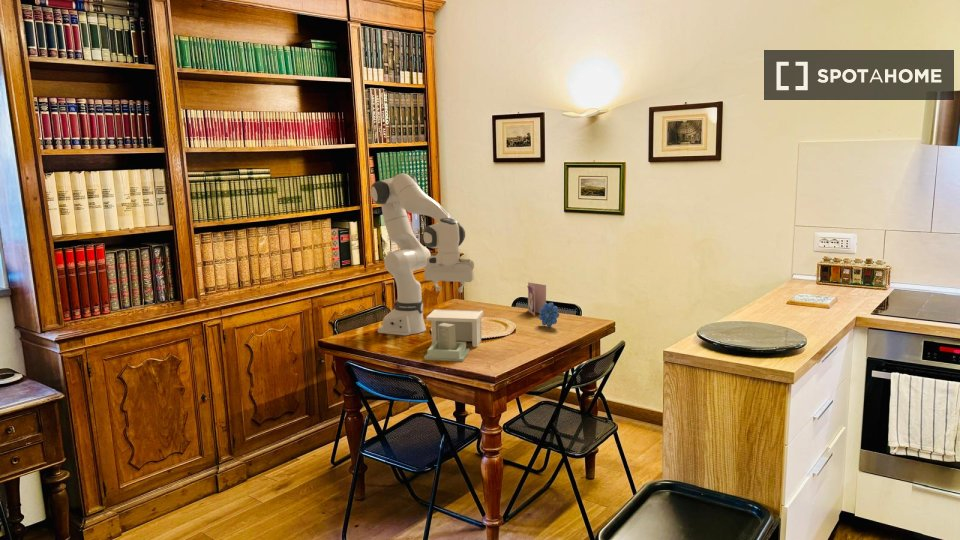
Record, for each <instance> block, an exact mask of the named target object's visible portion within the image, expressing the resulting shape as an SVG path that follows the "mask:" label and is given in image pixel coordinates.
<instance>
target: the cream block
mask: <svg viewBox="0 0 960 540" xmlns="http://www.w3.org/2000/svg"><path fill="white" fill-rule="evenodd" d="M483 316H484V310H464V309H463V310H462V309H435V308H434V309H433V310H432V311H431V312H430V313H429V314H428V315H427V316H426V318H425V319H426V322H430V324H431V325H430V326H431V329H430V331H431V345H432V344H433V343H434V342H435V341H439V340H438V325H439V324H442V323H449V324H455V335H456V342H472V348H478V346H479V345H480V343H481V342H482V317H483Z"/></svg>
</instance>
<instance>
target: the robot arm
mask: <svg viewBox="0 0 960 540" xmlns="http://www.w3.org/2000/svg"><path fill="white" fill-rule="evenodd" d="M370 196H371V199H372V200H373V202H374V203H376V204H377V205H381V211H382V212H381V213H382V218H383V221H384V225H385V229H386V232H387V234H388V235H387V236H388V238H389V240H390V241H392V242H393V243H395V244H396V245H397V246H398V248H399V249H395V250H393V251H391V252H389V253H387V254H386V255H385V258H384V262H383V263H384V268H385V269H386V271H387V272H388V273H389V274H391V276H393V279H394V281H395V285H396V290H397V291H396V292H397V298H396V300H395V301H394V302H393V304H392V305H393V309H392V310H391V311H390V312H389V313H387V314H386V315H385V316H384V317H383V319H382V325H380V326H379V327H378V328H377V333H378V334H387V335H395V336H396V335H398V336H410V335H414V334H415V335H416V334H419V333H423V332H425V331H426V330H427V328H426V324H425V320H424V315H423V312H424V303H423V299H422V284H421V282H420V281H418V280H417V279H416V278H415V275H414V271H417V270H421V269H424V274H423V275H424V279H425V280H426V281H432V284H433V286H434V287H435V292H440V291H441V286H440V285H438V282H459V283H460V285H461V286H460V287H458V289H457V290H458V293H463V288H464V286H465V285H466V283H472V282H473V280H474V277H475V276H474V268H475V266H474V265H475V263H474V261H473V260H472V259H469V258H467V259H466V258H460V257H461V256H460V253H461V252H460V247H459V246H461V245H462V244H463V242H464V241H465V239H466V230H465V229H464V227H463V226H462V225H461V223H459V222H458V221H457V220H456V219H454V218H453V216H451V215H450V213H449V212H448V211H446V210H445V208H444V207H443V206H442V205H441V204H440V203H439V202H438V201H436V199H435V198H432V197H430V196H429V195H427V193H426V192H425V191H423V190H422V188H421V187H420V186H419V183H418V180H417V178H415V176H413V175H410V174H407V173H399V174H397V175H395V176H393V177H390V178H385V179H382V180H378V181H375V182H373V183H372V185H371V187H370ZM407 212H408V213H409V214H415V215H421V216H422V215H423V216H428V217H429V218H430V217H431V218H432V219H434V220H435V222H436V223H433V224H431V225H427V226H426V227H424V230H423V232H422V241H423V244H424V245H425V246H424V245H423V244H422V243H421V242H420V241H419V239H417V237H416V235H415V234H414V231H413V228H412V225H411V223H410V219H409V215H408V213H407ZM427 247H428V248H429V249H437V253H436V254H432V253H431V252H430V250H429V249H428V248H427ZM431 254H432V255H431Z"/></svg>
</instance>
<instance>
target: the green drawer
mask: <svg viewBox="0 0 960 540" xmlns="http://www.w3.org/2000/svg"><path fill="white" fill-rule="evenodd" d="M469 353H470V348H467V341H456V350H443V349H439V341H435V342H434V343H433V344H432V343H431V345H430V346H429V348H428V349H427V352H426V354H425V355H424V357H423V360H426V361H445V362H446V361H447V362H464V361H465V359H466V357H467V355H468V354H469Z"/></svg>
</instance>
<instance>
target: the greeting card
mask: <svg viewBox="0 0 960 540" xmlns="http://www.w3.org/2000/svg"><path fill="white" fill-rule="evenodd" d="M526 287H527V307H528V308H527V311H528V312H529V313H530V314H531V315H532V316H534V317H535V316H536V313H539V310H540V308H543V305H544V304H545V303H547V285H546V284H539V283H535V282H534V283H533V282H527V286H526ZM539 314H540V313H539Z"/></svg>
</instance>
